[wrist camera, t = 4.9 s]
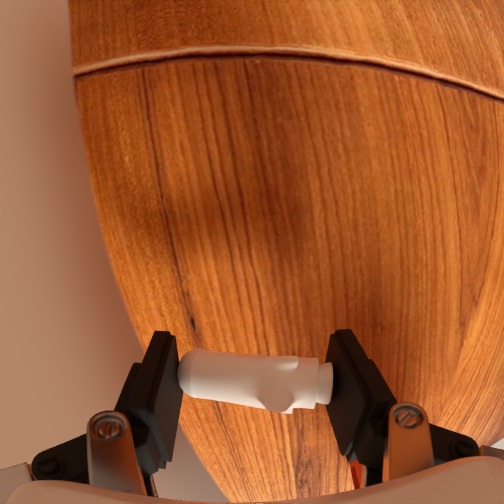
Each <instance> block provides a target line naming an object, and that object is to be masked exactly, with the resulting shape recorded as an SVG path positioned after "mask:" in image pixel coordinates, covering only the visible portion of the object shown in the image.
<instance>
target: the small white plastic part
mask: <svg viewBox="0 0 504 504" xmlns="http://www.w3.org/2000/svg"><path fill="white" fill-rule="evenodd" d="M177 379H178V383H179V385H180V387H181V389H182V390H183V391H184V392H185V393H186V394H188V395H189V396H192V397H194V398H203V399H210V400H217V401H224V402H230V403H236V404H241V405H247V406H252V407H257V408H262V409H267V410H269V411H271V412H275V413H280V412H281V413H287V414H292V412H293V408H310V409H314V407H315V404H316V402H318V403H322V404H326V405H327V404H329V403H330V400H331V396H332V389H333V366H332V363H330V362H329V363H324V364H319V362H318V358H317V357H316V358H298V356H266V355H252V354H240V353H229V352H219V351H211V350H204V349H193V350H191V351H189V352H187V353H186V354H185V355H184V356H183V357H182V358H181V360H180V362H179V364H178V368H177Z"/></svg>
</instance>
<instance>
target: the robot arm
mask: <svg viewBox="0 0 504 504" xmlns="http://www.w3.org/2000/svg"><path fill="white" fill-rule="evenodd" d="M329 362H330V363H332V366H333V389H332V396H331V400H330V403H329V404H327V405H326V404H325V406H326V409H327V412H328V415H329V418H330V421H331V425H332V428H333V431H334V434H335V437H336V440H337V443H338V446H339V450H340V453H341V455H343V456H344V455H346V458H347V461H348V462H352V461H357V460H358V463H360V464H362V473H361V482H360V489H356V490H351V491H346V492H341V493H336V494H330V495H324V496H318V497H311V498H304V499H295V500H285V501H273V502H254V503H212V502H195V501H182V500H172V499H165V498H158V494H157V490H156V487H155V483H154V480H153V476H152V474H154V473H155V472H157V471H158V468H162V469H165V468H166V462H167V461H168V462H171V461H172V456H173V450H174V443H175V437H176V431H177V425H178V420H179V414H180V408H181V402H182V397H183V390H182V389H181V387H180V385H179V383H178V379H177V368H178V364H179V358H178V351H177V343H176V337H175V335H171V333H170V332H169V331H155V332H154V334H153V336H152V339H151V341H150V344H149V346H148V349H147V351H146V354H145V356H144V359H143V361H142V363H134V364H133V365H132V367H131V370H130V372H129V374H128V377H127V379H126V382H125V384H124V387H123V389H122V391H121V394H120V396H119V399H118V402H117V404H116V407H115V409H114V411H103V412H99V413H97V414H95V415H94V416H93V417H92V418H91V419H90V420H89V422H88V424H87V433H86V434H84V435H81V436H79V437H77V438H74V439H72V440H70V441H67V442H65V443H63V444H60V445H57V446H55V447H52V448H50V449H47V450H45V451H42V452H41V453H39V454H38V455H36V457H34V459H33V461H32V464H29V465H28V464H27V463H26V462H24V463H21V464H18V465H15V466H11V467H8V468H4V469H0V504H504V450H502V449H497V448H493V447H488V446H484V445H482V446H481V447H480V448H479V447H478V445H477V443H476V442H475V441H474V440H473V439H472V438H470V437H468V436H466V435H463V434H459V433H456V432H453V431H450V430H447V429H444V428H441V427H439V426H436V425H433V424H430V423H429V421H428V416H427V413H426V411H425V410H424V409H423V408H422V407H421V406H419V405H418V404H415V403H412V402H400V403H397V401H396V399H395V397H394V396H393V394H392V392H391V391H390V389H389V387H388V385H387V384H386V382H385V380H384V378H383V377H382V375H381V373H380V372H379V370H378V368H377V367H376V365H375V363H374V362H373V361H372V360H371V359H368V357H367V355H366V354H365V352H364V350H363V349H362V347H361V345H360V344H359V342H358V340H357V338H356V337H355V335H354V333H353V332H352V330H351V329H340V330H336V331H335V333H334V334H331V335H330V340H329V345H328V350H327V355H326V360H325V363H329Z"/></svg>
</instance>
